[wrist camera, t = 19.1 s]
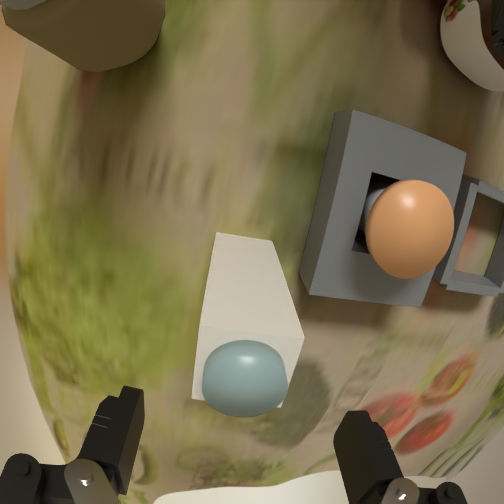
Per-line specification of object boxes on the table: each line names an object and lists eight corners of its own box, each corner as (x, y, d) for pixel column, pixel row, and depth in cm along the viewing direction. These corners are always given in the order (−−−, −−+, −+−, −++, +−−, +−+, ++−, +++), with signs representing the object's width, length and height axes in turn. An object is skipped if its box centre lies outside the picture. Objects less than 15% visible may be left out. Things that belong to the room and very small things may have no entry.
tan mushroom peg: (420, 180, 23) (464, 195, 18) (400, 253, 25) (436, 283, 20) (351, 160, 23) (386, 169, 17) (332, 241, 25) (358, 271, 19)
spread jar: (483, 104, 22) (576, 108, 11) (388, 37, 20) (475, -5, 9) (499, 16, 18) (575, 0, 7) (414, -48, 16) (480, -97, 5)
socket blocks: (516, 185, 25) (542, 194, 21) (481, 297, 29) (501, 314, 25) (334, 113, 22) (352, 109, 18) (298, 271, 26) (308, 294, 23)
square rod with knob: (272, 241, 25) (310, 355, 12) (261, 291, 27) (283, 425, 14) (216, 232, 25) (196, 342, 12) (208, 283, 26) (189, 416, 13)
